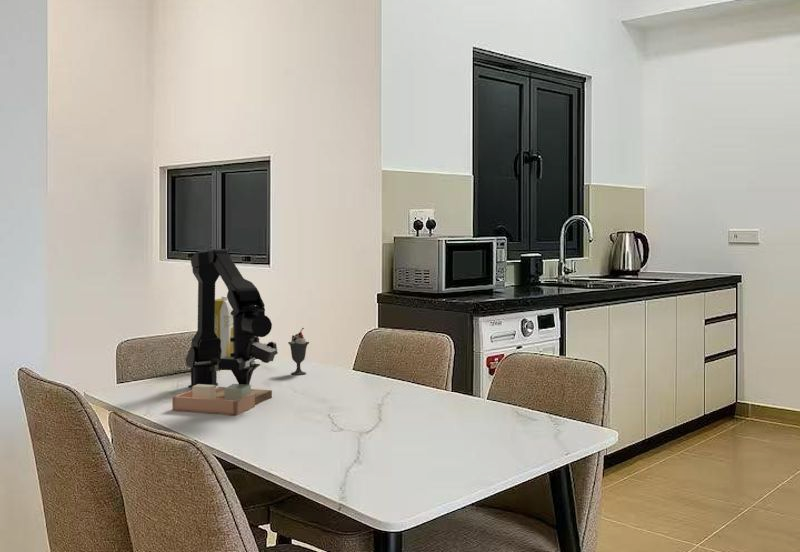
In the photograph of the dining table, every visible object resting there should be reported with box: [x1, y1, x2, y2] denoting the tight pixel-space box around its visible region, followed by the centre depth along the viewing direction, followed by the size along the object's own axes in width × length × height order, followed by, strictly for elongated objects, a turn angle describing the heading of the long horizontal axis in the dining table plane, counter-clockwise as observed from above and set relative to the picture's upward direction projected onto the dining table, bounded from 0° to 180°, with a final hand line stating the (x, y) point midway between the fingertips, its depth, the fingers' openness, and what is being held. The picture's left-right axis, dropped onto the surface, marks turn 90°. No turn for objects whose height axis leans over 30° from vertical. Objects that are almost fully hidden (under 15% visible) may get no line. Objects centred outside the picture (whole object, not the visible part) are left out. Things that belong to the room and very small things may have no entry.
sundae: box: [287, 327, 310, 376], centre depth 252 cm, size 7×7×15 cm
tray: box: [171, 389, 256, 416], centre depth 202 cm, size 18×10×4 cm, turn 73°
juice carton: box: [215, 295, 233, 370], centre depth 264 cm, size 9×8×24 cm
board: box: [216, 386, 273, 406], centre depth 212 cm, size 16×12×2 cm
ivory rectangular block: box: [191, 384, 217, 399], centre depth 204 cm, size 5×5×3 cm
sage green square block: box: [224, 383, 252, 401], centre depth 206 cm, size 5×5×3 cm
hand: (244, 391), depth 209 cm, fingers closed
